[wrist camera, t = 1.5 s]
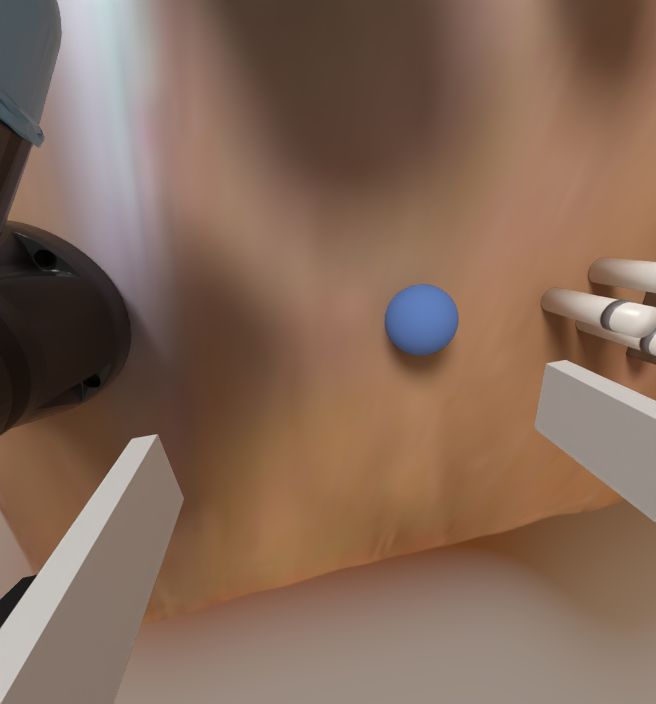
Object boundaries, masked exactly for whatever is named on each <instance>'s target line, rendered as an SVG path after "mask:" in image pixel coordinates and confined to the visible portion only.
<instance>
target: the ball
mask: <svg viewBox="0 0 656 704" xmlns="http://www.w3.org/2000/svg"><path fill="white" fill-rule="evenodd" d="M457 327H458V311H457V308H456V305H455V303H454V301H453V300H452V298H451V297H450V296H449V295H448V294H447V293H446V292H445V291H443V290H441V289H440V288H437V287H435V286H432V285H425V284H422V285H414V286H410V287H408V288H406V289H404V290H402V291H400V292H399V293H398V294H397V295H396V296H395V297H394V298H393V299H392V300H391V302H390V303H389V305H388V307H387V310H386V314H385V328H386V331H387V334H388V336H389V338H390V340H391V341H392V342H393V344H394V345H395V346H397V347H398V348H399V349H400V350H402V351H404V352H406V353H409V354H413V355H428V354H432V353H435V352H437V351H439V350H441V349H442V348H444V347H445V346H446V345H447V344H448V343H449V342H450V341H451V340H452V338H453V337H454V335H455V333H456V330H457Z"/></svg>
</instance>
